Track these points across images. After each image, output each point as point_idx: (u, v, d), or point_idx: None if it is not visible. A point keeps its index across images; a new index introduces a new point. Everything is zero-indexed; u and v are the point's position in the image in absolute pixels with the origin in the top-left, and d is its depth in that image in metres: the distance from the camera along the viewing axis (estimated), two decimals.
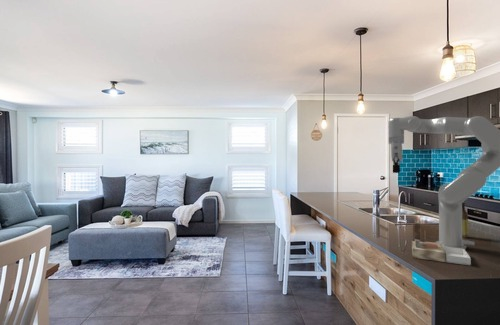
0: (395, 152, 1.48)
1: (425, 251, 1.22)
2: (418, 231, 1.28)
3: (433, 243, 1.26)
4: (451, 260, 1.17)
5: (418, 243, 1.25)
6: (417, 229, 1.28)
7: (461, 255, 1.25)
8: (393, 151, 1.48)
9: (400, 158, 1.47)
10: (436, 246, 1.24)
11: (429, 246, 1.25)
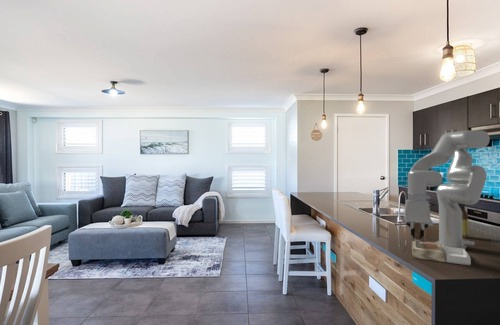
0: (429, 214, 1.27)
1: (425, 251, 1.22)
2: (418, 231, 1.28)
3: (433, 243, 1.26)
4: (451, 260, 1.17)
5: (418, 243, 1.25)
6: (417, 229, 1.28)
7: (461, 255, 1.25)
8: (429, 211, 1.26)
9: None
10: (436, 246, 1.24)
11: (429, 246, 1.25)
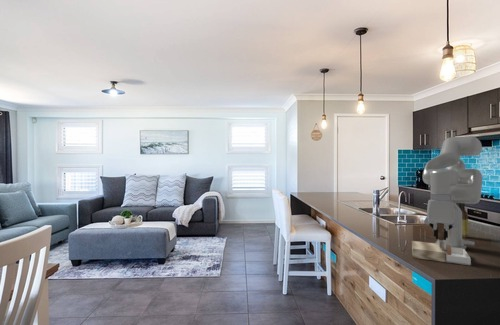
0: None
1: (425, 251, 1.22)
2: (442, 231, 1.24)
3: None
4: (451, 260, 1.17)
5: (442, 244, 1.21)
6: (441, 230, 1.24)
7: (461, 255, 1.25)
8: (454, 212, 1.21)
9: None
10: None
11: (448, 250, 1.22)
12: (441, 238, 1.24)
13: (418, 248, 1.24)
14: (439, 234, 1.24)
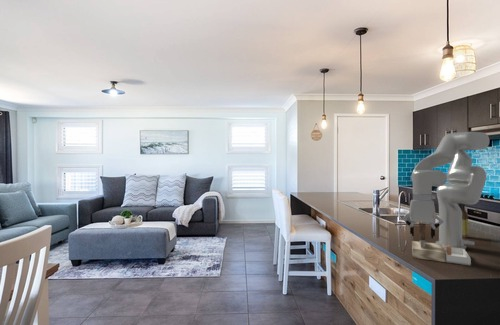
0: None
1: (425, 251, 1.22)
2: (423, 231, 1.27)
3: None
4: (451, 260, 1.17)
5: (424, 243, 1.24)
6: (423, 230, 1.27)
7: (461, 255, 1.25)
8: None
9: None
10: None
11: (448, 250, 1.22)
12: (423, 238, 1.27)
13: (418, 248, 1.24)
14: (421, 234, 1.28)
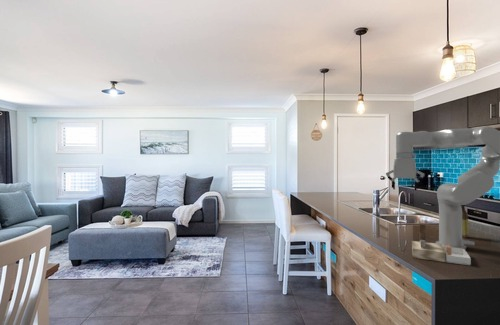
0: (415, 168, 1.40)
1: (425, 251, 1.22)
2: (423, 231, 1.27)
3: None
4: (451, 260, 1.17)
5: (424, 243, 1.24)
6: (423, 230, 1.27)
7: (461, 255, 1.25)
8: (415, 167, 1.40)
9: None
10: None
11: (448, 250, 1.22)
12: (423, 238, 1.27)
13: (418, 248, 1.24)
14: (421, 234, 1.28)
